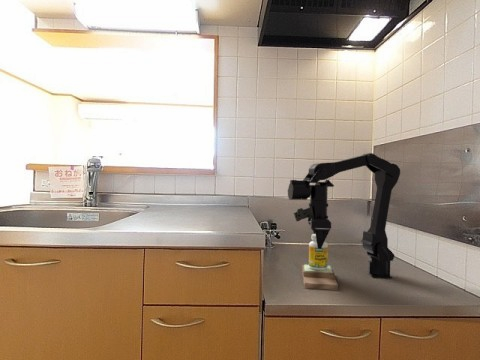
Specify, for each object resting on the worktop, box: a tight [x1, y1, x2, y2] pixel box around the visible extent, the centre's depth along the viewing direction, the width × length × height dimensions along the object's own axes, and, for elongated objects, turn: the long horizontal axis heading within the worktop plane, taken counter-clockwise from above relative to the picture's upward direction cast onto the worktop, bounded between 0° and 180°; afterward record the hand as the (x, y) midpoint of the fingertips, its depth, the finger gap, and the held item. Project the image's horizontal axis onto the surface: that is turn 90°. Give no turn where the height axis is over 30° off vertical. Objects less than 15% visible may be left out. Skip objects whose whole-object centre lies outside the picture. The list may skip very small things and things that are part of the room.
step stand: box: [301, 264, 339, 291], centre depth 111 cm, size 10×16×3 cm, turn 172°
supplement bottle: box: [308, 233, 329, 270], centre depth 114 cm, size 6×6×11 cm
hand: (318, 245), depth 114 cm, fingers open, 9 cm apart
